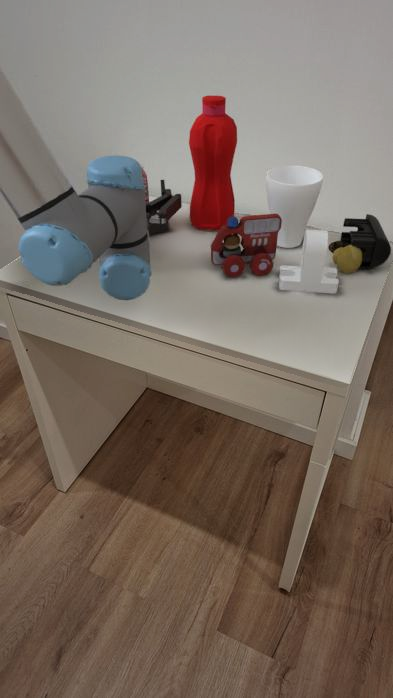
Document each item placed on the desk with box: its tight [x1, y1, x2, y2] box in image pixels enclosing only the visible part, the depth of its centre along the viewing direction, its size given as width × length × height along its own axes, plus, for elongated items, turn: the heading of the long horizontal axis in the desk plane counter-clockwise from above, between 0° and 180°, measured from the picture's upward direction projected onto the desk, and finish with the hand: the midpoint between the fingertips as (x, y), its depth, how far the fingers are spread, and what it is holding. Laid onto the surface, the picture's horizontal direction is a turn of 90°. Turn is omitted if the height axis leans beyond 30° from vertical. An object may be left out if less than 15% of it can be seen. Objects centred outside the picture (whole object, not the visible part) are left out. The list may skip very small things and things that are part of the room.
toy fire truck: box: [210, 213, 282, 278], centre depth 86 cm, size 7×12×10 cm, turn 96°
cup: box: [265, 164, 325, 249], centre depth 93 cm, size 10×10×14 cm
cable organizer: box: [278, 229, 340, 295], centre depth 82 cm, size 5×10×10 cm, turn 82°
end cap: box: [338, 213, 392, 271], centre depth 90 cm, size 10×7×7 cm
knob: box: [332, 245, 362, 275], centre depth 88 cm, size 5×5×5 cm
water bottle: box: [188, 94, 238, 232], centre depth 97 cm, size 9×11×25 cm
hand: (129, 187), depth 98 cm, fingers open, 13 cm apart
